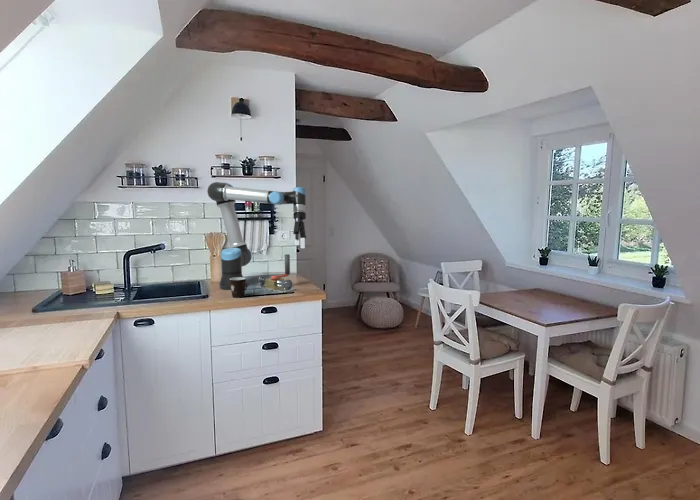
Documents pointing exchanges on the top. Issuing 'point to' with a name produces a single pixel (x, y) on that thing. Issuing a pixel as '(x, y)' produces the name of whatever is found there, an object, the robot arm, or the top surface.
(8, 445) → the top surface
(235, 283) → the coffee mug
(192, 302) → the top surface
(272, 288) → the valve
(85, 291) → the top surface
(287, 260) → the lever
